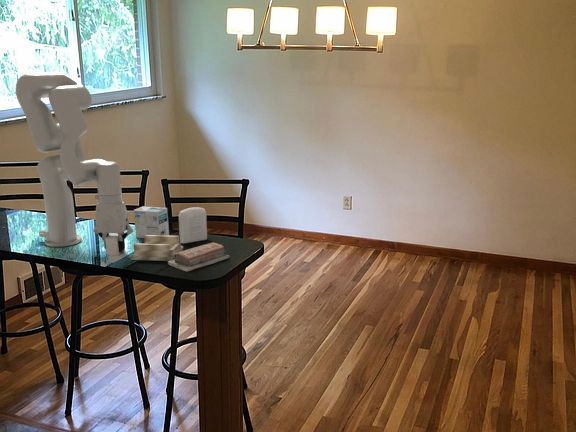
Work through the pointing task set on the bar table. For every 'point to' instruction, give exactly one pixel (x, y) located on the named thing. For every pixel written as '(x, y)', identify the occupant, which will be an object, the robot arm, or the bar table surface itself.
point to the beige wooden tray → (157, 248)
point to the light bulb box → (151, 221)
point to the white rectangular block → (112, 244)
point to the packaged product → (199, 256)
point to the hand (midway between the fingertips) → (115, 250)
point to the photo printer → (192, 225)
